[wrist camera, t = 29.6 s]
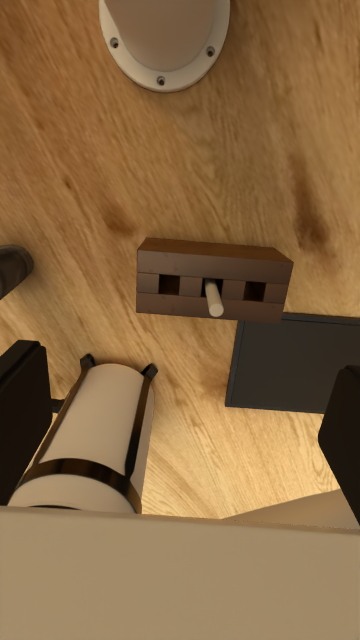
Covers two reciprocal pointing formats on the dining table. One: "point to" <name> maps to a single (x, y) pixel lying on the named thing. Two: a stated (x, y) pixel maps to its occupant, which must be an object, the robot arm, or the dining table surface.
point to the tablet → (291, 361)
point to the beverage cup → (13, 267)
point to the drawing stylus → (213, 297)
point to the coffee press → (94, 444)
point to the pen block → (211, 262)
